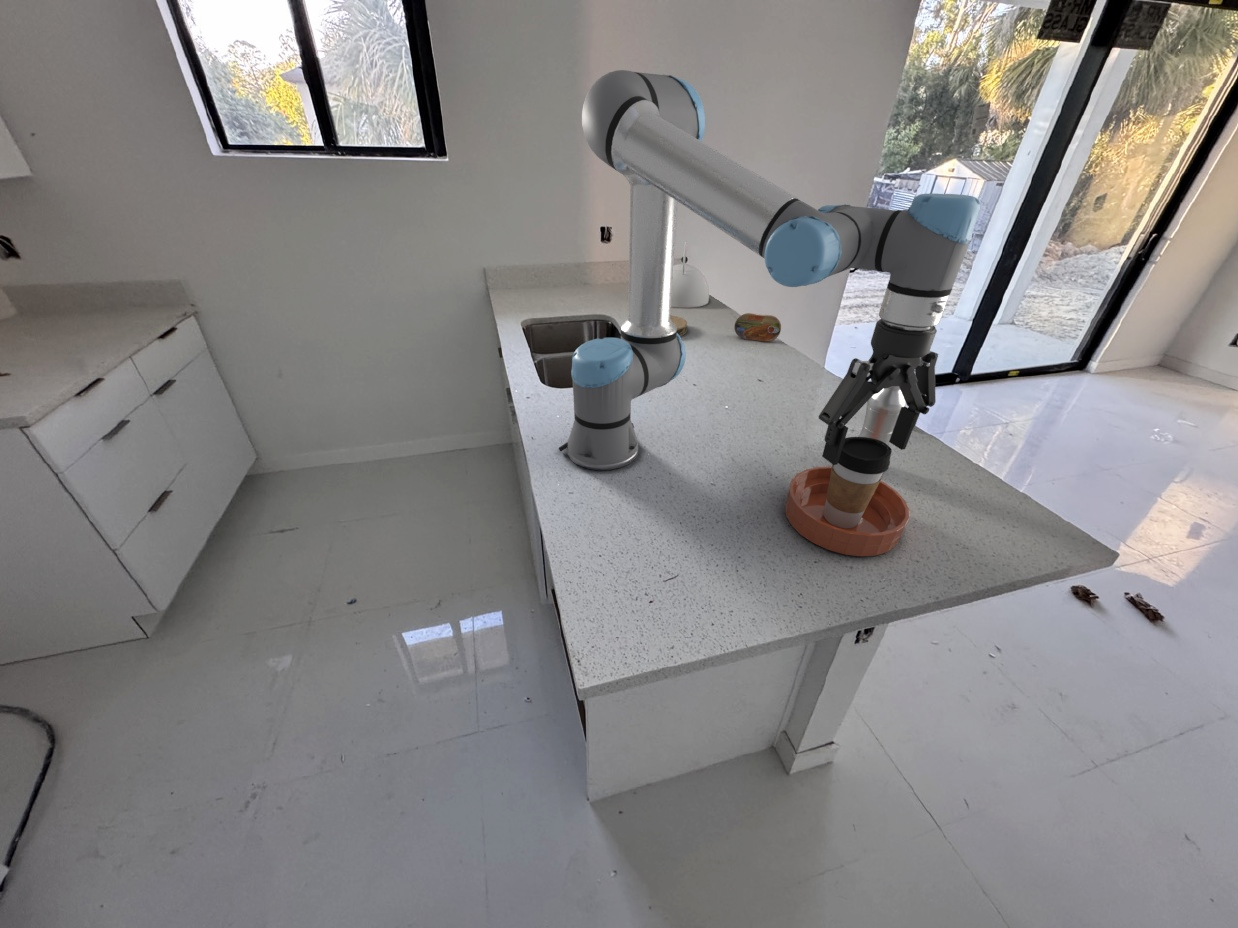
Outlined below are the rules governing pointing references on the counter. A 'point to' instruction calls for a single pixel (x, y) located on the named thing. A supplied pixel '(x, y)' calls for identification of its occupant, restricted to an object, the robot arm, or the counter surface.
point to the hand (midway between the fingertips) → (864, 452)
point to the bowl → (866, 539)
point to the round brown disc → (679, 324)
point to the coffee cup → (855, 480)
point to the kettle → (688, 285)
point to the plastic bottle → (882, 414)
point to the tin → (757, 327)
